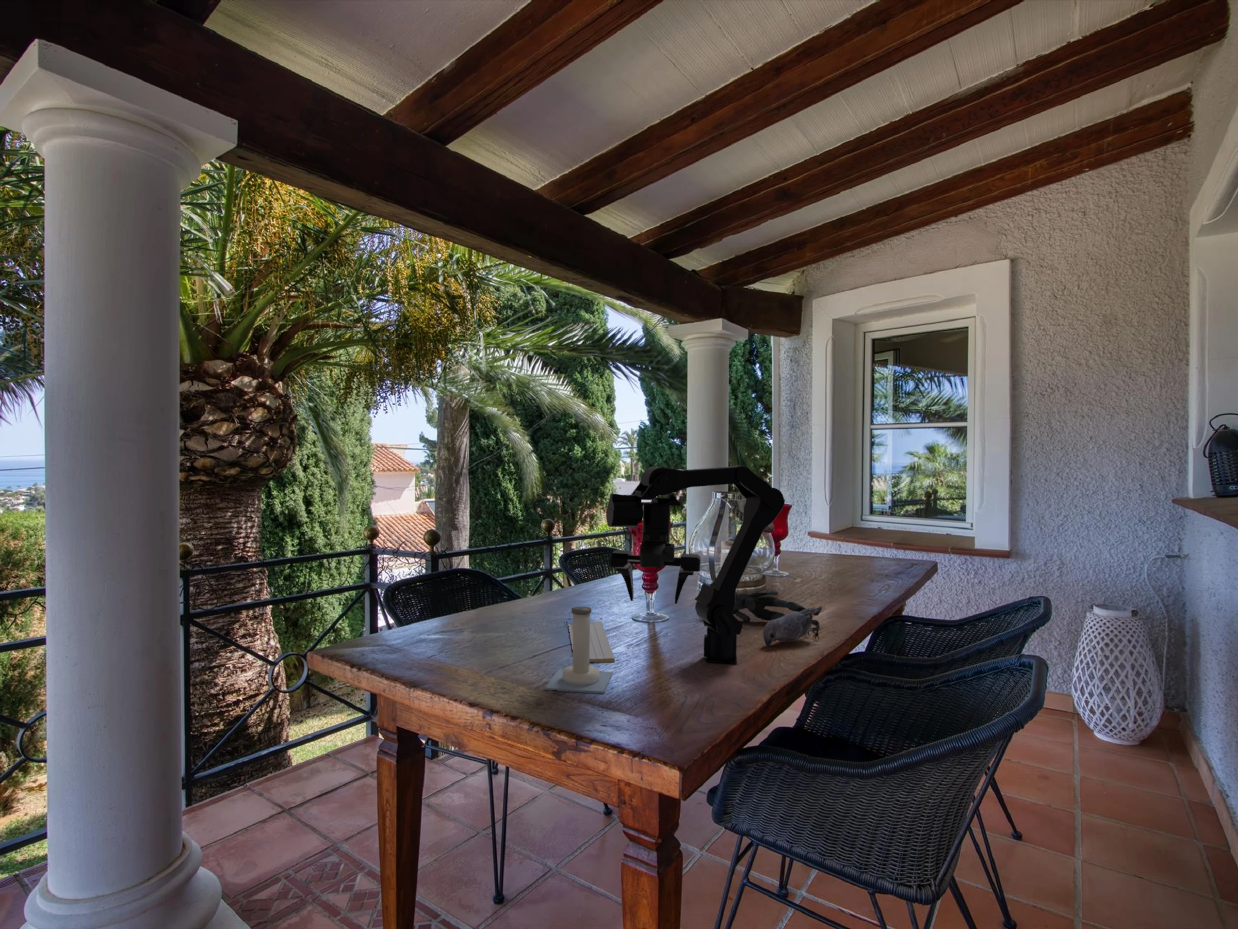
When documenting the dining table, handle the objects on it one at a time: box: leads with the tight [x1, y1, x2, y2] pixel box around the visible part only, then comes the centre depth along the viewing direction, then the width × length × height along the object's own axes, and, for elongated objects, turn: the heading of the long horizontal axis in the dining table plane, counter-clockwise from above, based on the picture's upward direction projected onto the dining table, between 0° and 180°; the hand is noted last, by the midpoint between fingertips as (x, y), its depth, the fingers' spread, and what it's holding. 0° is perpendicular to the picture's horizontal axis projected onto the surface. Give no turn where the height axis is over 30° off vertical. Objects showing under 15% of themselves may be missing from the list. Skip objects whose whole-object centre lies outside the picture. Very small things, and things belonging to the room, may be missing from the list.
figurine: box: [733, 590, 823, 628], centre depth 175 cm, size 11×9×30 cm
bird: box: [762, 606, 820, 647], centre depth 155 cm, size 5×16×8 cm, turn 122°
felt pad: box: [544, 668, 614, 695], centre depth 126 cm, size 11×11×1 cm
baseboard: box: [563, 617, 616, 663], centre depth 153 cm, size 30×3×10 cm
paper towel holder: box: [562, 606, 600, 686], centre depth 126 cm, size 7×7×14 cm
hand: (653, 602), depth 137 cm, fingers open, 9 cm apart
